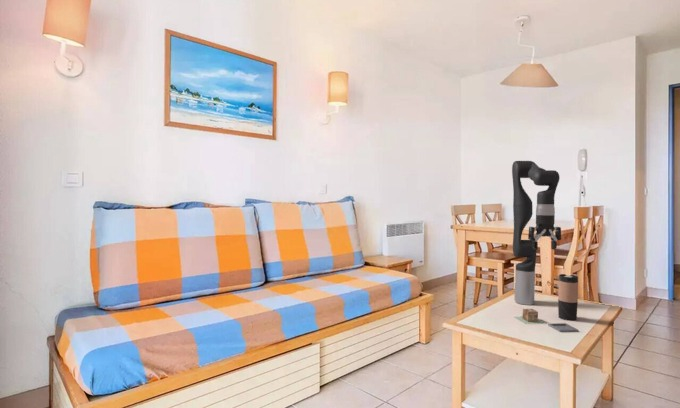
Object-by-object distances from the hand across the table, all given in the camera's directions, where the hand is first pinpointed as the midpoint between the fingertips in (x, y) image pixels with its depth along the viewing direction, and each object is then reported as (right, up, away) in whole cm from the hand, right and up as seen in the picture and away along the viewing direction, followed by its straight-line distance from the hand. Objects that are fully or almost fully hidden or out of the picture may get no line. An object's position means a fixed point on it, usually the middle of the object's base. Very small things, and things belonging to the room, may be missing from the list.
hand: (544, 249), depth 175 cm
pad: (-8, -32, -3) cm, 33 cm away
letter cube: (-8, -32, -3) cm, 33 cm away
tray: (+1, -32, -13) cm, 35 cm away
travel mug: (+11, -32, +1) cm, 34 cm away
